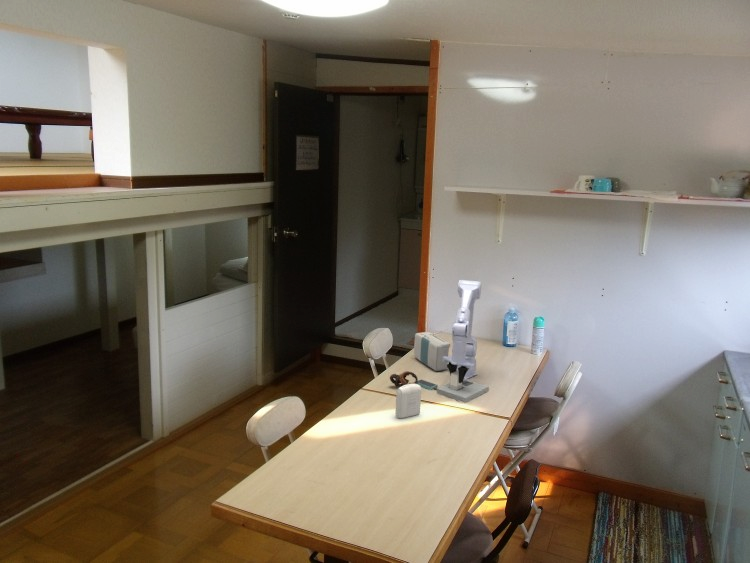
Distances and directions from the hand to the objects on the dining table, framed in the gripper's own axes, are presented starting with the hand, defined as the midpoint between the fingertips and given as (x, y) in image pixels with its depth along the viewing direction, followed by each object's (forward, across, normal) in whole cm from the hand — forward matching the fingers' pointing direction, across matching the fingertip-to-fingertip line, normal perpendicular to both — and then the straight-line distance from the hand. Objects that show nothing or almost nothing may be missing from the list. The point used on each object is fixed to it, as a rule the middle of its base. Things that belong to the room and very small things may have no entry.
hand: (457, 381), depth 259 cm
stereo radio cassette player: (+5, -28, +20) cm, 35 cm away
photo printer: (+5, 0, -33) cm, 33 cm away
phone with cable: (+5, -11, -4) cm, 13 cm away
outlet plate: (+5, +2, +2) cm, 6 cm away
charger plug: (+3, 0, 0) cm, 3 cm away
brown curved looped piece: (+5, -18, -13) cm, 23 cm away
